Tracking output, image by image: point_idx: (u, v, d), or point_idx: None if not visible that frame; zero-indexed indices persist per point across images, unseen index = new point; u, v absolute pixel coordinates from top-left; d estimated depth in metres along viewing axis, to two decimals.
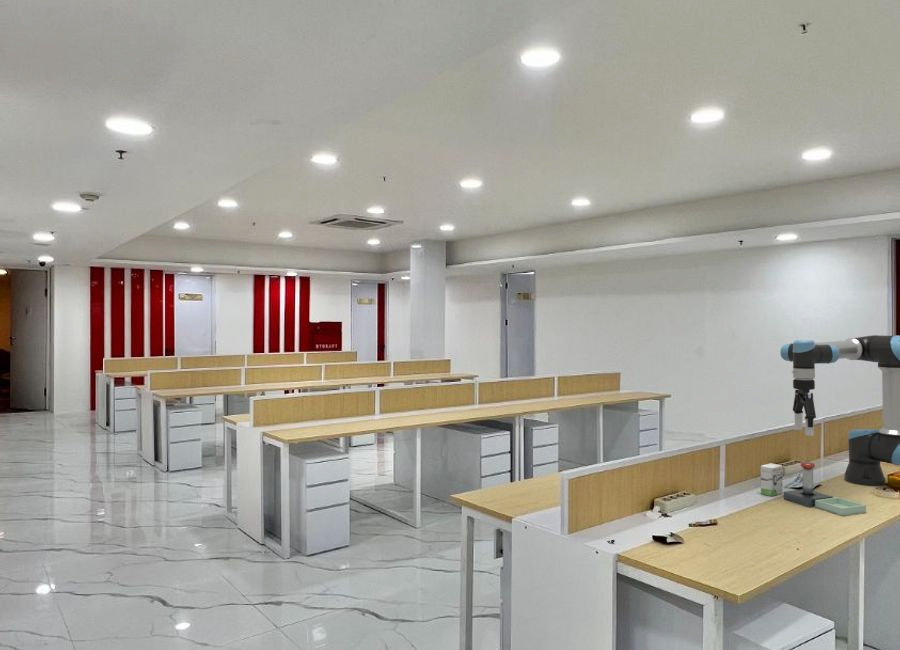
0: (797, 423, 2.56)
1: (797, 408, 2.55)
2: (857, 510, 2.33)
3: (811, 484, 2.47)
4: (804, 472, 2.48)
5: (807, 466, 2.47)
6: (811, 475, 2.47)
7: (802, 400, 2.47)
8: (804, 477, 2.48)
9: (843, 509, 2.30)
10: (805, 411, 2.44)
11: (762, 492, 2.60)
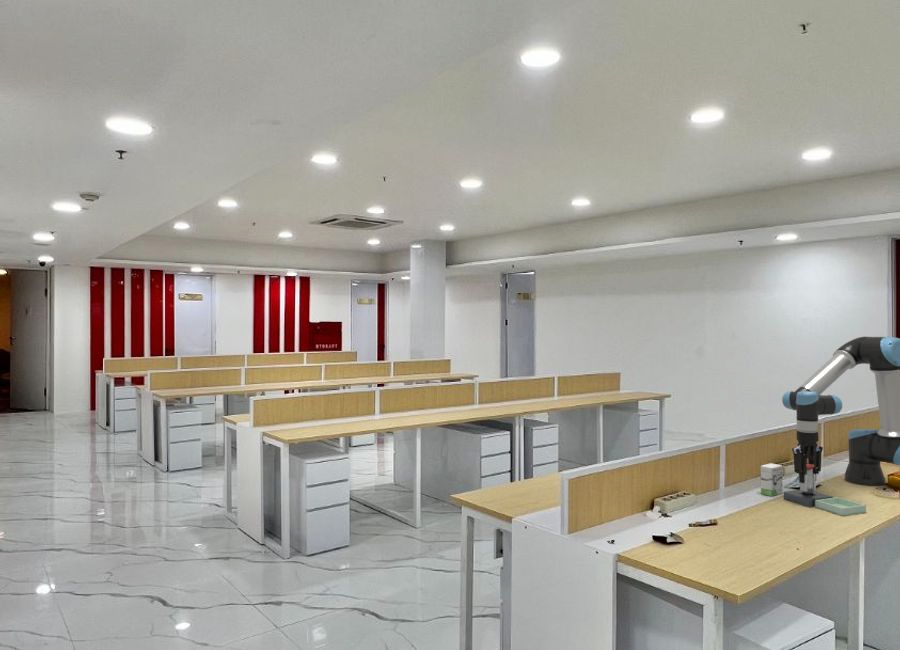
0: None
1: None
2: (857, 510, 2.33)
3: (811, 484, 2.47)
4: None
5: (807, 466, 2.47)
6: (811, 475, 2.47)
7: None
8: None
9: (843, 509, 2.30)
10: None
11: (762, 492, 2.60)
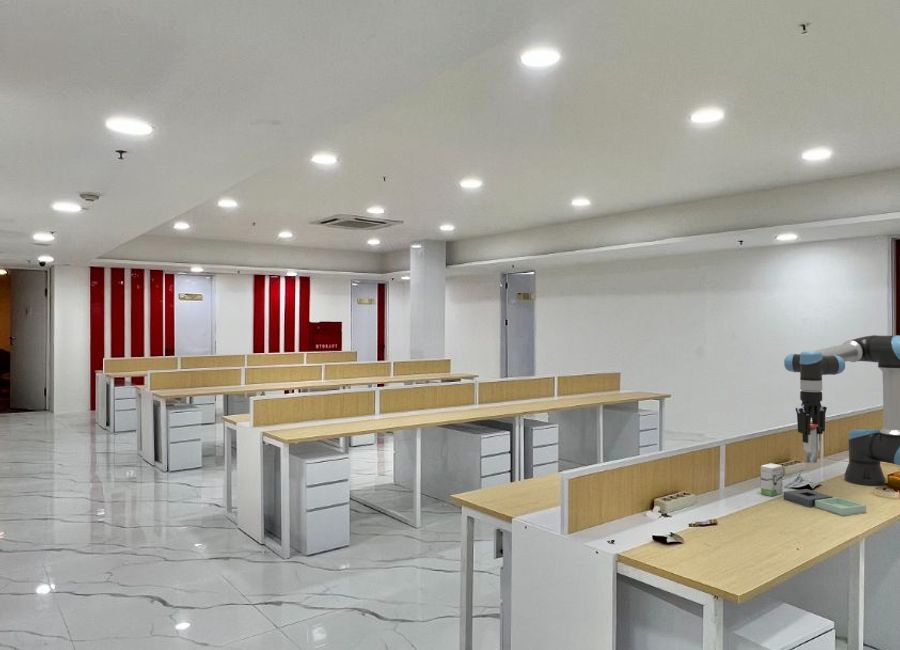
0: None
1: None
2: (857, 510, 2.33)
3: (815, 444, 2.46)
4: None
5: (811, 426, 2.45)
6: (815, 435, 2.46)
7: None
8: None
9: (843, 509, 2.30)
10: None
11: (762, 492, 2.60)
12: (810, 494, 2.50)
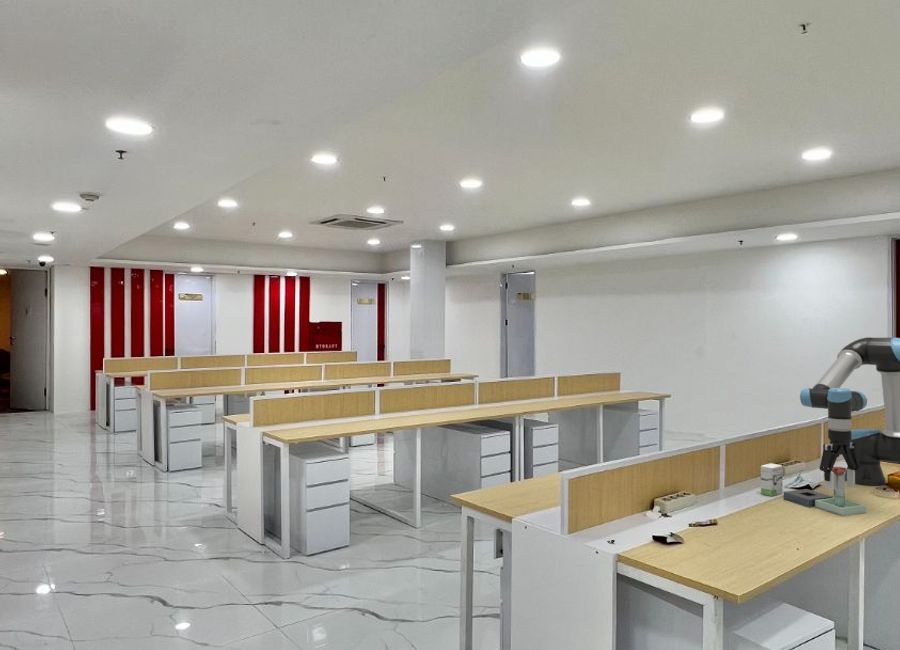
0: (849, 479, 2.39)
1: (847, 462, 2.40)
2: (857, 510, 2.33)
3: (843, 490, 2.36)
4: (835, 477, 2.37)
5: (838, 471, 2.35)
6: (843, 480, 2.36)
7: None
8: (835, 483, 2.37)
9: (843, 509, 2.30)
10: None
11: (762, 492, 2.60)
12: (810, 494, 2.50)
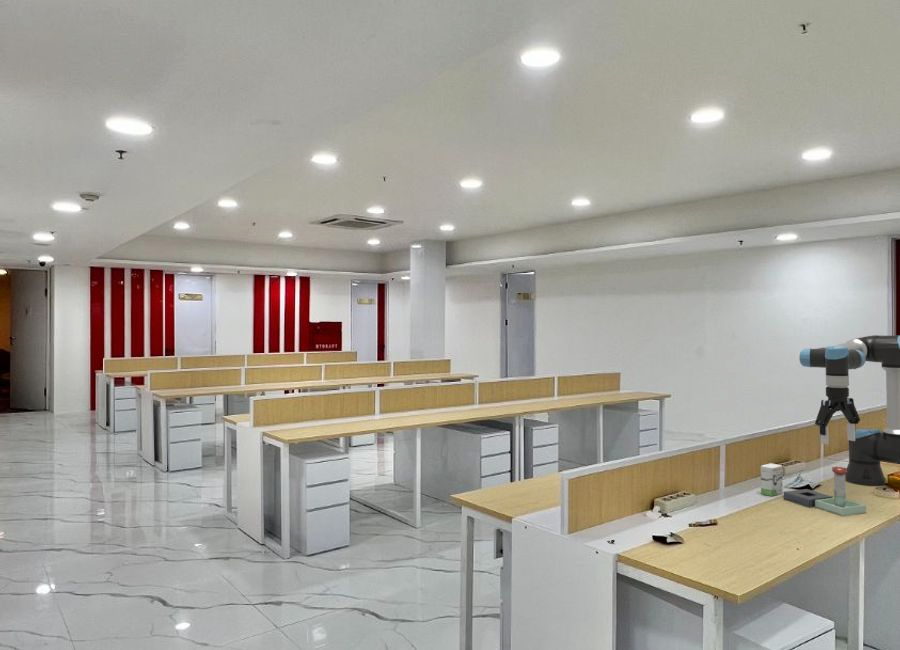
0: (849, 433, 2.43)
1: (846, 417, 2.43)
2: (857, 510, 2.33)
3: (843, 490, 2.36)
4: (836, 477, 2.37)
5: (839, 471, 2.35)
6: (843, 481, 2.36)
7: None
8: (836, 483, 2.37)
9: (843, 509, 2.30)
10: None
11: (762, 492, 2.60)
12: (810, 494, 2.50)
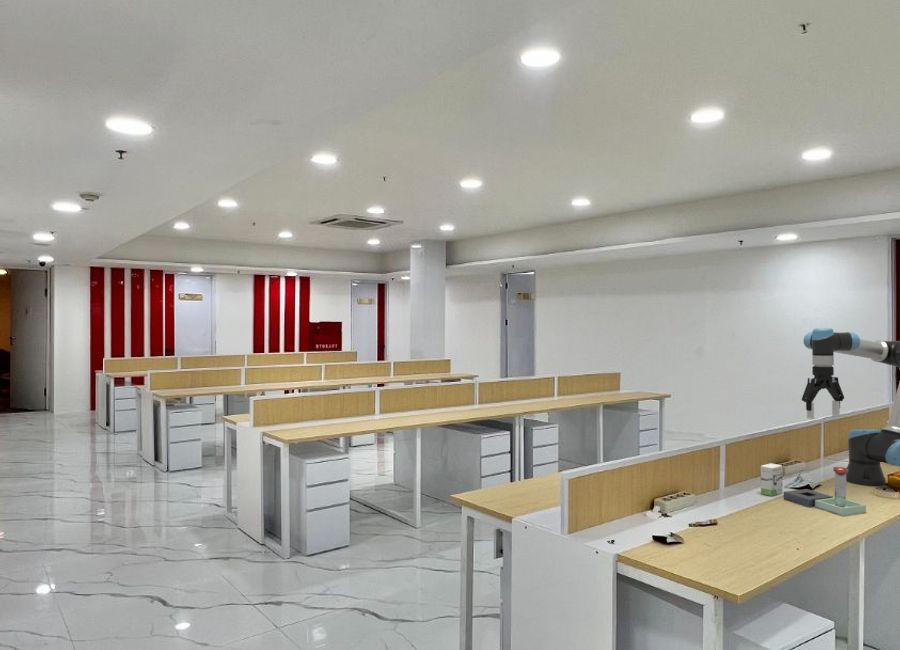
0: (834, 410, 2.60)
1: (831, 395, 2.60)
2: (857, 510, 2.33)
3: (844, 490, 2.36)
4: (837, 477, 2.37)
5: (840, 471, 2.35)
6: (844, 481, 2.36)
7: None
8: (836, 483, 2.37)
9: (843, 509, 2.30)
10: None
11: (762, 492, 2.60)
12: (810, 494, 2.50)
